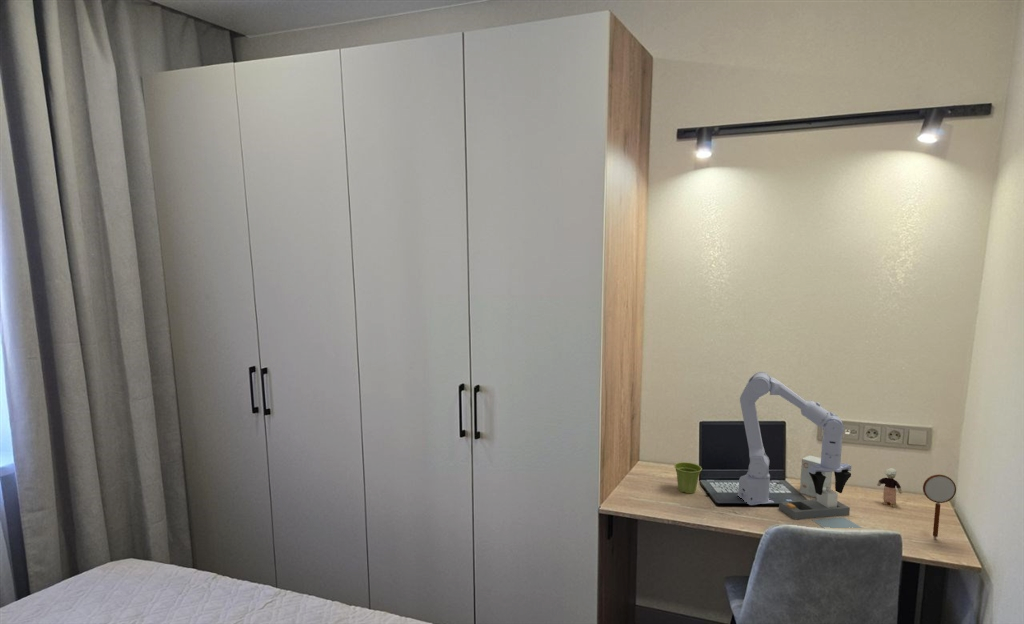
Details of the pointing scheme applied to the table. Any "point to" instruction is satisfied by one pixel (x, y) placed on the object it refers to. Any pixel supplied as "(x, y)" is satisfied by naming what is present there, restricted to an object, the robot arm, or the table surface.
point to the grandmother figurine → (890, 487)
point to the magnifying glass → (939, 494)
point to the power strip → (811, 509)
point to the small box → (806, 479)
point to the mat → (836, 523)
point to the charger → (828, 498)
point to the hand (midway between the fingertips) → (828, 492)
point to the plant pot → (687, 476)
